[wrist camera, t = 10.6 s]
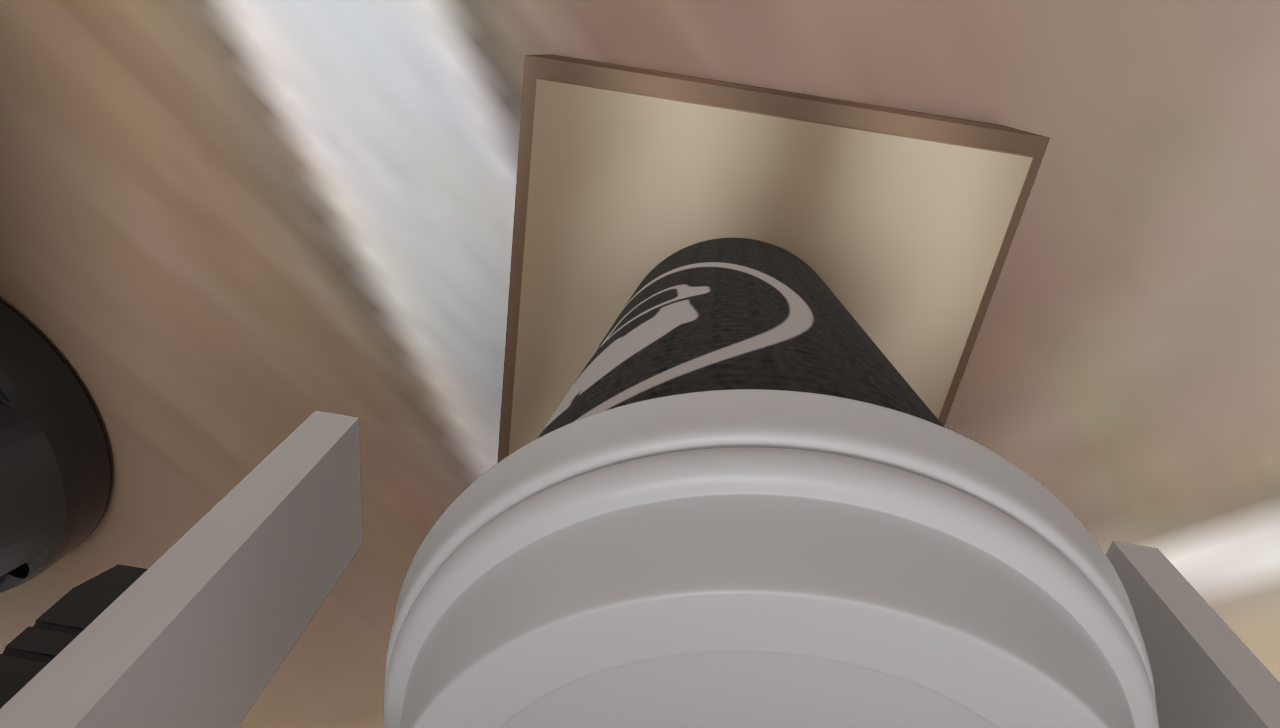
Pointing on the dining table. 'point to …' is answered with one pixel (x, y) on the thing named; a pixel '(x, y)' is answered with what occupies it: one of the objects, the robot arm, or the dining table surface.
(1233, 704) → the robot arm
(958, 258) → the pedestal
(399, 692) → the coffee cup
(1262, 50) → the dining table surface
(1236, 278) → the dining table surface
